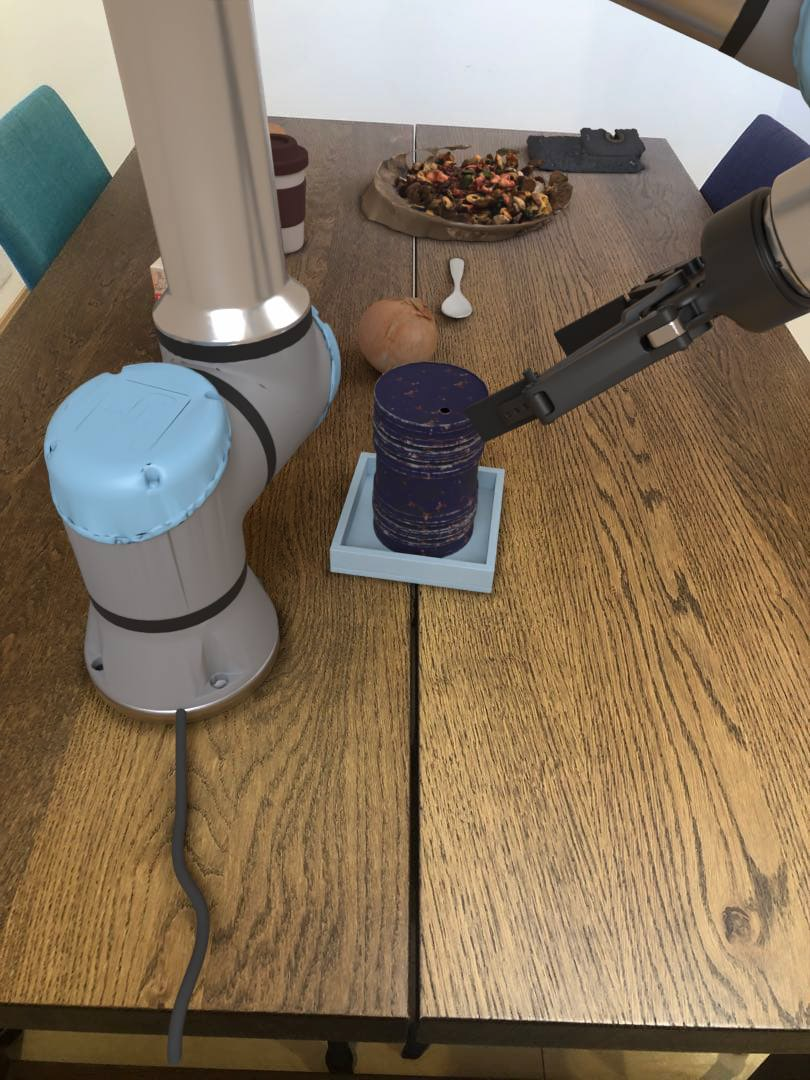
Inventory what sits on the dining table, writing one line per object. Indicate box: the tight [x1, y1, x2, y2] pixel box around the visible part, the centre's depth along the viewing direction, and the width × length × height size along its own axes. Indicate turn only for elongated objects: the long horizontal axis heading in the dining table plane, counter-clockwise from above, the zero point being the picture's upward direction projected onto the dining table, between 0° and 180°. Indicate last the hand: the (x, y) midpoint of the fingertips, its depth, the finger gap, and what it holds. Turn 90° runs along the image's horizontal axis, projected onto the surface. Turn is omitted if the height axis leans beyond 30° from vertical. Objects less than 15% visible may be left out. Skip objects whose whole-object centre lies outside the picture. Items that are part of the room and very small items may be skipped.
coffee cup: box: [269, 133, 310, 255], centre depth 119 cm, size 10×10×15 cm
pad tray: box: [329, 451, 506, 594], centre depth 78 cm, size 15×15×3 cm
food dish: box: [361, 143, 574, 243], centre depth 136 cm, size 35×33×8 cm
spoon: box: [440, 257, 473, 319], centre depth 114 cm, size 4×21×2 cm, turn 177°
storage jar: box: [371, 360, 490, 558], centre depth 73 cm, size 10×10×15 cm
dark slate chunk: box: [525, 127, 647, 174], centre depth 155 cm, size 15×22×5 cm
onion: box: [356, 296, 438, 376], centre depth 96 cm, size 10×9×10 cm
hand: (522, 383), depth 62 cm, fingers open, 13 cm apart
